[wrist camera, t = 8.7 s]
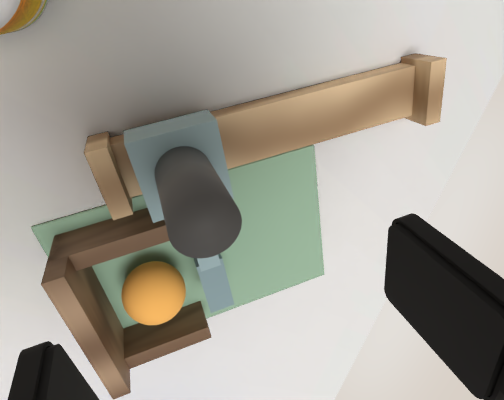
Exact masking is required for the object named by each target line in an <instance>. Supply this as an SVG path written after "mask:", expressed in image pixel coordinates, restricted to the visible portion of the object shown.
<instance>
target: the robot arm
mask: <svg viewBox="0 0 504 400" xmlns="http://www.w3.org/2000/svg"><path fill="white" fill-rule="evenodd" d="M384 290H385V294H386V296H387V298H388V300H389V301H390V302H391V303H392V304H393V305H394V307H395V308H396V309H397V310H398V311H399V312H400V313H401V314H402V315H403V317H404V318H405V319H406V320H407V321H408V322H409V323H410V325H411V326H412V327H413V328H414V329H415V330H416V331H417V332H418V334H419V335H420V336H421V337H422V338H423V339H424V340H425V341H426V343H427V344H428V345H429V346H430V347H431V348H432V349H433V350H434V351H435V353H436V354H437V355H438V356H439V357H440V358H441V359H442V360H443V361H444V363H445V364H446V365H447V366H448V367H449V368H450V369H451V370H452V372H453V373H454V374H455V375H456V376H457V377H458V378H459V380H460V381H461V382H462V383H463V384H464V385H465V386H466V387H467V388H468V390H469V391H470V392H471V393H472V394H473V395H474V396H475V397H477V398H479V399H484V400H504V279H503V278H502V277H500V276H499V275H498V274H496V273H495V272H493V271H492V270H491V269H489V268H488V267H487V266H485V265H484V264H482V263H481V262H480V261H478V260H477V259H475V258H474V257H473V256H472V255H470V254H469V253H468V252H466V251H465V250H464V249H462V248H461V247H459V246H458V245H457V244H456V243H454V242H453V241H451V240H450V239H449V238H447V237H446V236H445V235H443V234H442V233H441V232H439V231H438V230H437V229H435V228H434V227H432V226H431V225H430V224H428V223H427V222H426V221H424V220H423V219H422V218H420V217H419V216H418V215H416V214H409V215H406V216H403V217H400V218H397V219H395V220H393V222H392V226H390V227H389V230H388V243H387V258H386V272H385V286H384ZM8 400H99V399H98V397H97V396H96V394H95V393H94V392H93V390H92V389H91V387H90V386H89V384H88V383H87V382H86V380H85V379H84V377H83V376H82V375H81V373H80V372H79V370H78V369H77V367H76V366H75V365H74V363H73V362H72V360H71V359H70V358H69V356H68V355H67V353H66V352H65V350H64V349H63V348H62V346H61V345H60V344H56V345H53V344H52V343H51V342H49V341H47V342H44V343H41V344H38V345H36V346H33V347H30V348H27V349H24V350H22V351H21V352H20V355H19V358H18V362H17V366H16V370H15V373H14V377H13V381H12V385H11V389H10V393H9V397H8Z"/></svg>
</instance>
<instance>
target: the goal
mask: <svg viewBox="0 0 504 400" xmlns="http://www.w3.org/2000/svg"><path fill="white" fill-rule="evenodd" d="M168 241H170V240H169V237H168V233H167V229H166V225H165V220H161V221H158V222H155V223H153V221H152V219H151V216H150V213H149V210H148V208H145V209H141V210H138V211H135V212H133V215H129V216H126V217H123V218H119V219H116V220H113V219H112V218H111V219H108V220H105V221H101V222H98V223H95V224H91V225H88V226H85V227H81V228H78V229H75V230H71V231H68V232H65V233H61V234H58V235H55V236H54V239H53V242H52V246H51V250H50V253H49V257H48V261H47V264H46V268H45V272H44V275H43V279H42V283H41V285H42V287H43V288H44V290H45V291H46V293H47V295H48V296H49V298H50V299H51V301H52V303H53V304H54V306H55V307H56V309H57V311H58V312H59V314H60V315H61V317H62V319H63V320H64V322H65V323H66V325H67V327H68V328H69V330H70V331H71V333H72V335H73V336H74V338H75V339H76V341H77V343H78V344H79V346H80V347H81V349H82V351H83V352H84V354H85V355H86V357H87V359H88V360H89V362H90V363H91V365H92V367H93V368H94V370H95V371H96V373H97V375H98V376H99V378H100V379H101V381H102V383H103V384H104V386H105V387H106V389H107V391H108V392H109V394H110V395H111V397H112V398H113V399H116V398H118V397H121V396H123V395H126V394H128V393H130V369H131V368H133V367H136V366H138V365H141V364H144V363H146V362H149V361H151V360H154V359H157V358H159V357H162V356H164V355H167V354H169V353H172V352H175V351H177V350H180V349H182V348H185V347H188V346H190V345H193V344H195V343H198V342H201V341H203V340H206V339H208V338H211V334H210V331H209V327H208V324H207V320H206V317H205V313H204V310H203V307H202V304H201V301H198V302H195V303H192V304H190V305H187V306H184V307H181V309H180V311H179V312H178V313H177V314H176V315H175V316H174V317H173V318H172V319H170V320H169V321H167V322H165V323H162V324H159V325H144V324H141V323H137V324H134V325H132V326H129V327H126V328H123V327H122V325H121V323H120V321H119V319H118V317H117V315H116V313H115V311H114V309H113V307H112V305H111V303H110V301H109V299H108V297H107V295H106V293H105V291H104V289H103V287H102V285H101V284H100V282H99V280H98V278H97V276H96V274H95V272H94V270H93V268H92V266H93V265H96V264H99V263H103V262H106V261H109V260H112V259H115V258H118V257H121V256H124V255H127V254H130V253H134V252H137V251H140V250H143V249H146V248H149V247H152V246H155V245H158V244H161V243H165V242H168Z"/></svg>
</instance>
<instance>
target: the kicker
mask: <svg viewBox="0 0 504 400" xmlns="http://www.w3.org/2000/svg"><path fill="white" fill-rule="evenodd" d="M123 132H124V145H125V148H126V150H127V153H128V156H129V159H130V161H131V164H132V167H133V169H134V172H135V175H136V178H137V180H138V183H139V186H140V189H141V191H142V194H143V197H144V199H145V202H146V205H147V208H148V210H149V213H150V216H151V219H152V221H153V223H155V222H158V221H161V220H165V225H166V229H167V233H168V237H169V240H170V243H171V244H172V246H173V247H174V248H175V249H176V250H177V251H178V252H179V253H181V254H183V255H185V256H187V257H191V258H194V261H195V264H196V268H197V271H198V274H199V277H200V280H201V283H202V287H203V290H204V293H205V296H206V299H207V302H208V306H209V309H210V312H211V313H213V312H215V311H218V310H221V309H224V308H226V307H229V306H232V305H234V301H233V297H232V293H231V289H230V285H229V282H228V278H227V274H226V270H225V266H224V263H223V259H222V256H221V254H220V253H222V252H224V251H225V250H227V249H228V248H229V247H230V246H231V245H232V244H233V243H234V242H235V240H236V239H237V237H238V235H239V233H240V230H241V226H242V217H241V213H240V210H239V208H238V207H237V205H236V203H235V202H234V200H233V198H234V196H233V192H232V187H231V183H230V178H229V173H228V169H227V164H226V160H225V155H224V151H223V146H222V141H221V137H220V132H219V128H218V123H217V119H216V118H215V117H214V116H213V115H212V114H211V113H210V112H209V111H208V110H203V111H199V112H195V113H191V114H188V115H184V116H180V117H176V118H172V119H168V120H164V121H160V122H156V123H152V124H148V125H144V126H141V127H137V128H133V129H129V130H125V131H123Z"/></svg>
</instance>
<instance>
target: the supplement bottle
mask: <svg viewBox="0 0 504 400" xmlns="http://www.w3.org/2000/svg"><path fill="white" fill-rule="evenodd" d="M47 2H48V0H0V34H5V33H10V32H15V31H18V30H21V29H23V28H26V27H28V26H29V25H31V24H32V23H34V22H35V21H36V20H37V19H38V18H39V16H40V15H41V14H42V12H43V11H44V9H45V7H46V5H47Z"/></svg>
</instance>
